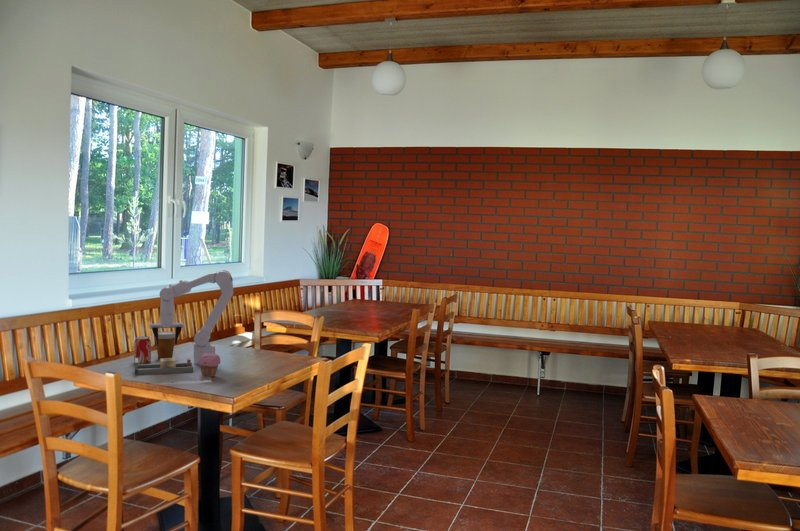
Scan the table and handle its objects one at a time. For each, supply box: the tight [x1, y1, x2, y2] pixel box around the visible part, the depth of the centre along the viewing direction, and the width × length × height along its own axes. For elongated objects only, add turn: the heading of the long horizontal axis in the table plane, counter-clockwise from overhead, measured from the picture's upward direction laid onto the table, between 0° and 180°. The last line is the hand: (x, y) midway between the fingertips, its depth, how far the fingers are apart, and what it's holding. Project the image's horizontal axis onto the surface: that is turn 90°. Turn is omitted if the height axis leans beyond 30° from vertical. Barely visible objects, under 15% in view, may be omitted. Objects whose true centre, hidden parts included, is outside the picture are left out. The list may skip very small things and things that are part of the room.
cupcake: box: [198, 353, 221, 378], centre depth 276 cm, size 9×9×10 cm
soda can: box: [133, 336, 152, 365], centre depth 296 cm, size 7×7×12 cm
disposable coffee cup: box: [155, 330, 175, 360], centre depth 309 cm, size 10×10×12 cm
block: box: [159, 357, 192, 368], centre depth 282 cm, size 12×6×4 cm, turn 112°
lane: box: [134, 358, 194, 376], centre depth 280 cm, size 23×10×6 cm, turn 112°
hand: (166, 344), depth 295 cm, fingers open, 7 cm apart
